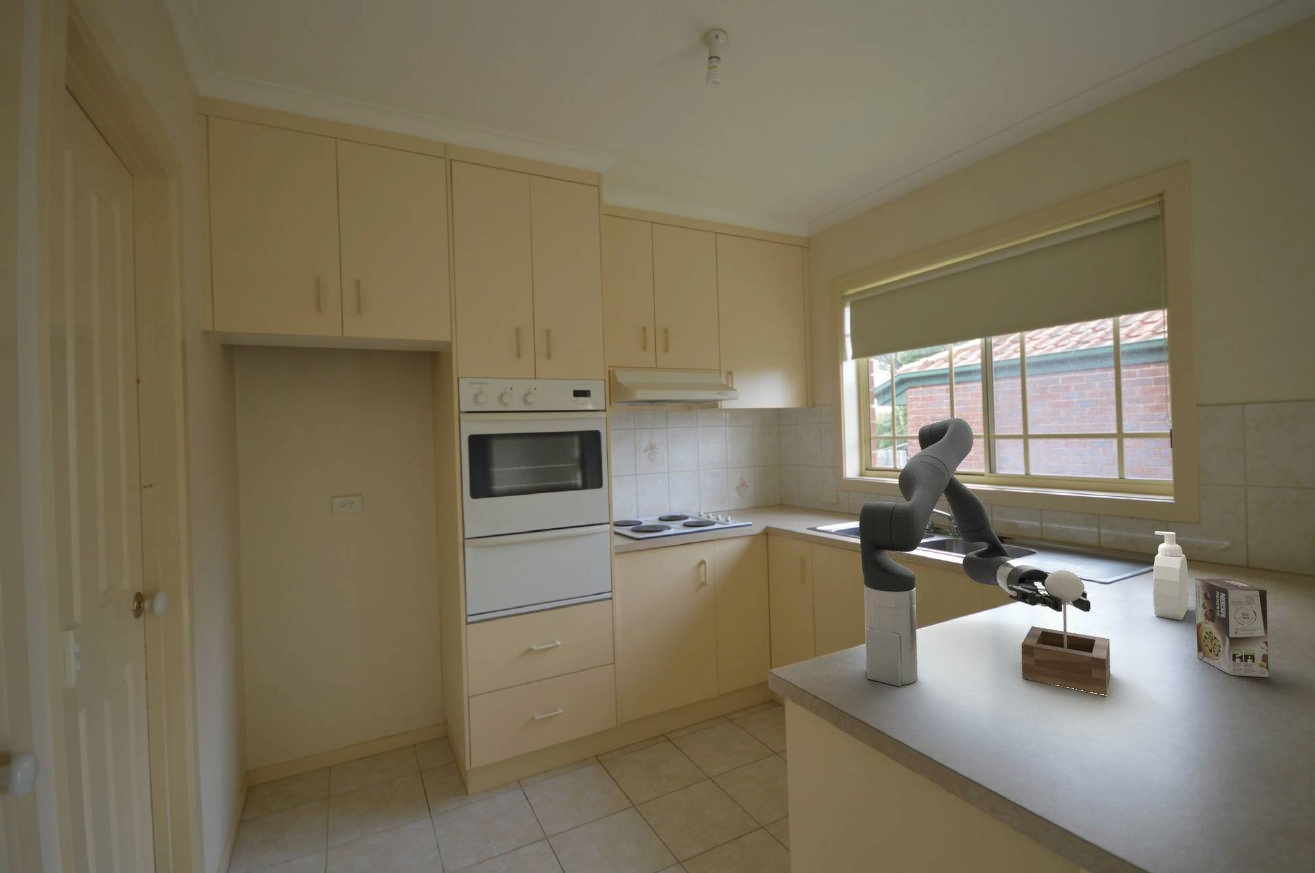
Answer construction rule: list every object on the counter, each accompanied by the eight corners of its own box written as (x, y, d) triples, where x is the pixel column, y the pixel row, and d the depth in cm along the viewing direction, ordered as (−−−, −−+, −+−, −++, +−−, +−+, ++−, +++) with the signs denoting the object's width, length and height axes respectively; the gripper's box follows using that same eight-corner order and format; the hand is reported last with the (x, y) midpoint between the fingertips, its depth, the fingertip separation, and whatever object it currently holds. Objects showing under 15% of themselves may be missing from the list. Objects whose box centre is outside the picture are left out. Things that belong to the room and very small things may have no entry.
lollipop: (1079, 645, 112) (1077, 567, 112) (1090, 656, 106) (1089, 575, 106) (1041, 642, 114) (1040, 565, 114) (1051, 653, 108) (1049, 573, 108)
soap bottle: (1161, 603, 152) (1159, 527, 152) (1188, 607, 148) (1187, 529, 148) (1151, 617, 141) (1149, 535, 141) (1180, 622, 137) (1178, 538, 137)
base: (1106, 696, 101) (1105, 659, 101) (1022, 678, 109) (1021, 643, 109) (1110, 672, 111) (1109, 638, 111) (1032, 657, 119) (1031, 626, 119)
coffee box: (1271, 677, 107) (1269, 590, 107) (1229, 675, 108) (1228, 589, 108) (1232, 658, 116) (1231, 577, 116) (1195, 657, 117) (1193, 577, 117)
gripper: (988, 564, 125) (1032, 586, 108) (1058, 563, 123) (1115, 586, 106) (989, 599, 125) (1033, 626, 108) (1059, 599, 124) (1115, 626, 106)
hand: (1073, 606), depth 107 cm, fingers closed on lollipop, 4 cm apart
